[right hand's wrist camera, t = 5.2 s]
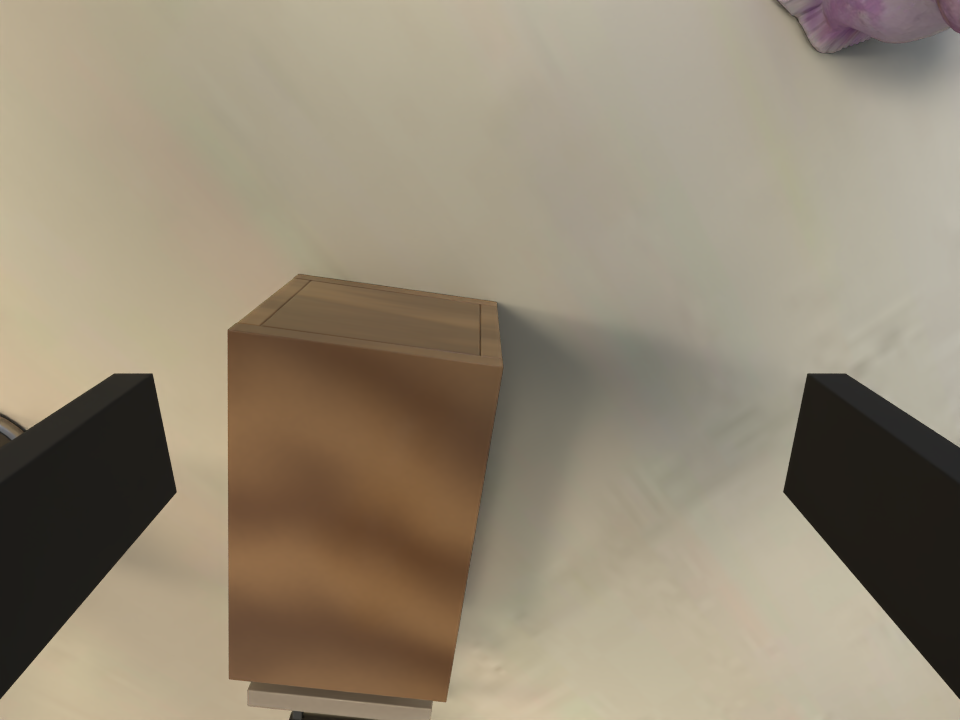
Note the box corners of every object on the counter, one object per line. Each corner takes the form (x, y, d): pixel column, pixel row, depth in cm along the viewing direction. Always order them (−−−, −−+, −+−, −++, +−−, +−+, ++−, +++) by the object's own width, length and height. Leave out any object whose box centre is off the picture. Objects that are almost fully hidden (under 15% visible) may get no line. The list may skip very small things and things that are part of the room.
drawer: (428, 680, 43) (417, 798, 35) (288, 665, 42) (246, 781, 35) (475, 376, 34) (474, 444, 27) (301, 352, 34) (250, 416, 26)
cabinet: (453, 570, 40) (446, 702, 31) (287, 551, 40) (228, 679, 30) (496, 301, 34) (503, 366, 24) (298, 273, 33) (227, 329, 24)
